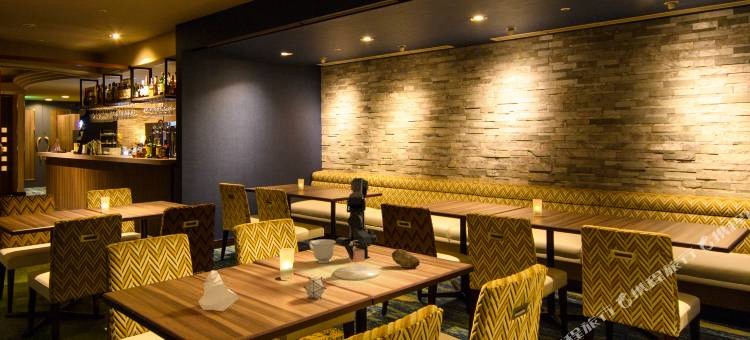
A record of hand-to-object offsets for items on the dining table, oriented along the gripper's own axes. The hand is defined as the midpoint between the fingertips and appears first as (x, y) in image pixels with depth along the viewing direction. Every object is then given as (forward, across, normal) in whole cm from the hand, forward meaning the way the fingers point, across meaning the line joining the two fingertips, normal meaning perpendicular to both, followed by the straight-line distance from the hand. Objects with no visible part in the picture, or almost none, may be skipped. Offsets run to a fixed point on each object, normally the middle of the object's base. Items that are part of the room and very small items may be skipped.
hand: (356, 258), depth 242 cm
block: (+1, 0, 0) cm, 1 cm away
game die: (+7, -33, -19) cm, 39 cm away
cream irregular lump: (+7, -66, -5) cm, 67 cm away
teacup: (+7, 0, +30) cm, 31 cm away
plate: (+7, 0, 0) cm, 7 cm away
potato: (+7, +25, -4) cm, 26 cm away
